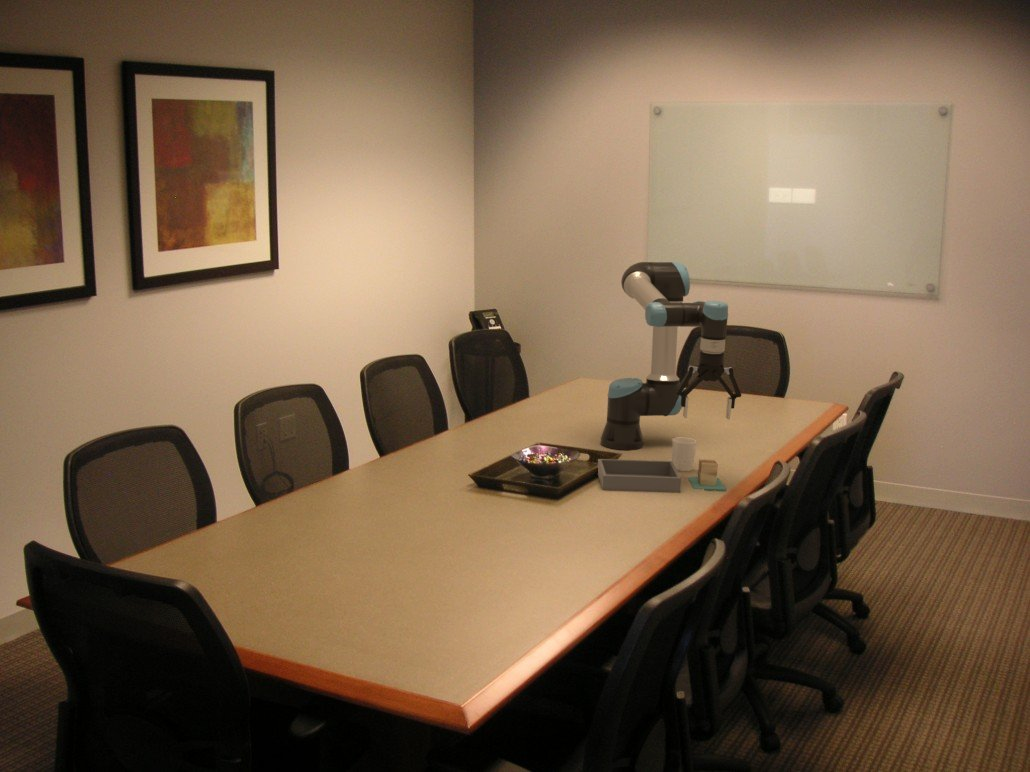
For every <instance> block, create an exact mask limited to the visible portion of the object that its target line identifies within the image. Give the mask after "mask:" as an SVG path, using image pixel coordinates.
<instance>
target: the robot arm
mask: <svg viewBox="0 0 1030 772" xmlns="http://www.w3.org/2000/svg"><path fill="white" fill-rule="evenodd" d="M620 284H621V287H622V290H623V292H624V293H625V294H626V296H628V297H629V298H631V299H634V300H635V302H637V303H638V304H639V305H640V306H641V307H642V308H643V309H644V310H645V312H644V313H645V314H644V315H645V316H644V317H645V322H646V324H647V325H648V326H649V327H652V341H651V343H652V345H651V361H650V362H651V364H650V373H649V374H648V375H647V376H646V377H645V378H646V381H645V382H643V381H642V379H641V378H636V377H633V378H632V377H625V378H624V377H623V378H619V379H616V380H614V381H612V382H611V383H610V384H609V386H608V391H607V408H606V409H607V412H606V423H605V425H604V428H603V431H602V433H601V436H600V441H599V442H600V445H601V446H603V447H605V448H609V449H613V450H622V451H632V450H638V449H642V448H643V447H644V437H643V433H642V429H641V425H640V422H641V420H640V419H641V417H656V416H657V417H661V416H663V417H668V416H676V415H678V414H679V413H680V411H681V410H682V409H683V411H682V417H683V419H687V418H688V412H689V411H688V410H689V409H688V408H689V397H688V396H689V394H691V392H692V391H693V390H694V389H695V388H696V387H697V386H698V385H699V384H701V383H702V382H703V381H704V382H710V381H711V382H716V381H718V383H720V384H721V386H722V387H723V389H724V390H725V391H726V393H727V394H728V395H729V397H727V401H726V413H725V418H726V419H727V420H731V411H732V409H734V408H735V403H736V400H737V398H741V397H742V393H741V389H740V388H739V386H738V382H737V380H736V378H735V376H734V368H732V366H728V367H724V362H725V353H724V352H725V349H726V339H727V338H726V337H727V327H728V318H729V305H728V303H727V302H724V301H719V300H707V301H703V300H702V301H701V300H696V301H693V302H684V297H687V296H689V294H690V289H691V279H690V275H689V271H688V269H687V267H686V266H685V264H683V263H680V262H673V261H667V262H664V261H660V262H657V261H639V262H636V263H634V264H632V265H630V266H629V267H628V268H627V269H626V270H625V271H624V273H623V275H622V277H621V283H620ZM678 327H684V328H686V327H689V328H696V327H697V328H701V334H700V343H699V344H700V346H699V349H700V351H699V355H698V356H699V358H698V359H699V360H698V364H697V365H698V366H692V365H691V364H688V366H687V372H686V373H685V375H684V377H683V378H682V380H681V382H680V377H678V375H677V374H676V368H677V367H676V366H677V345H678V344H677V343H678ZM696 372H697V373H698V375H697V376H696V377H695V378H694V379H693V380H692V381H691V382H690V383H689V381H690V380H691V378H692V376H693V374H695V373H696ZM724 373H725V374H726V375H728V378H729V380H730V382H731V386H732V388H733V390H734V392H733V391H732V389H731V388H730V387H729V385H728V384H727V383H726V382H725V380H724V379H723V377H722V376H723V374H724ZM688 383H689V384H688ZM687 385H688V386H687Z"/></svg>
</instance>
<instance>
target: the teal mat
mask: <svg viewBox="0 0 1030 772" xmlns="http://www.w3.org/2000/svg"><path fill="white" fill-rule="evenodd" d="M697 478H698V476H687V479H688V481H689V483H690V484H691V486H692V488H693V489H694V490H703V491H705V490H713V491H712V492H726V491H727V488H726V487H725V486H724V484H723V482H722V481H721V480H720V478H719V477H717V479H716V486H709V485H700V484H699V482H698V481H697ZM714 490H716V491H714Z"/></svg>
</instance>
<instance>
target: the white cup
mask: <svg viewBox="0 0 1030 772" xmlns="http://www.w3.org/2000/svg"><path fill="white" fill-rule="evenodd" d="M671 441H672V444H671V446H672V447H671V461H672V462H673V464H674V466H675V467H676V469H677V471H679V472H681V471H682V472H690V471H693V469H694V463H695V457H696V450H697V439H694V438H691V437H685V436H678V437H674V438H672V440H671Z"/></svg>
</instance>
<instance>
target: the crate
mask: <svg viewBox="0 0 1030 772" xmlns="http://www.w3.org/2000/svg"><path fill="white" fill-rule="evenodd" d="M597 468H598V473H597V476H598V480H599V482H600V486H601V489H602V491H624V492H650V493H652V492H657V493H681V487H682V476H681V475H680V473H679V472H678V471H679V470H677V469H676V467H675V466H674V464H673V461H672V460H670V461H669V460H644V459H643V460H642V459H640V460H639V459H611V458H598V459H597Z"/></svg>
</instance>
